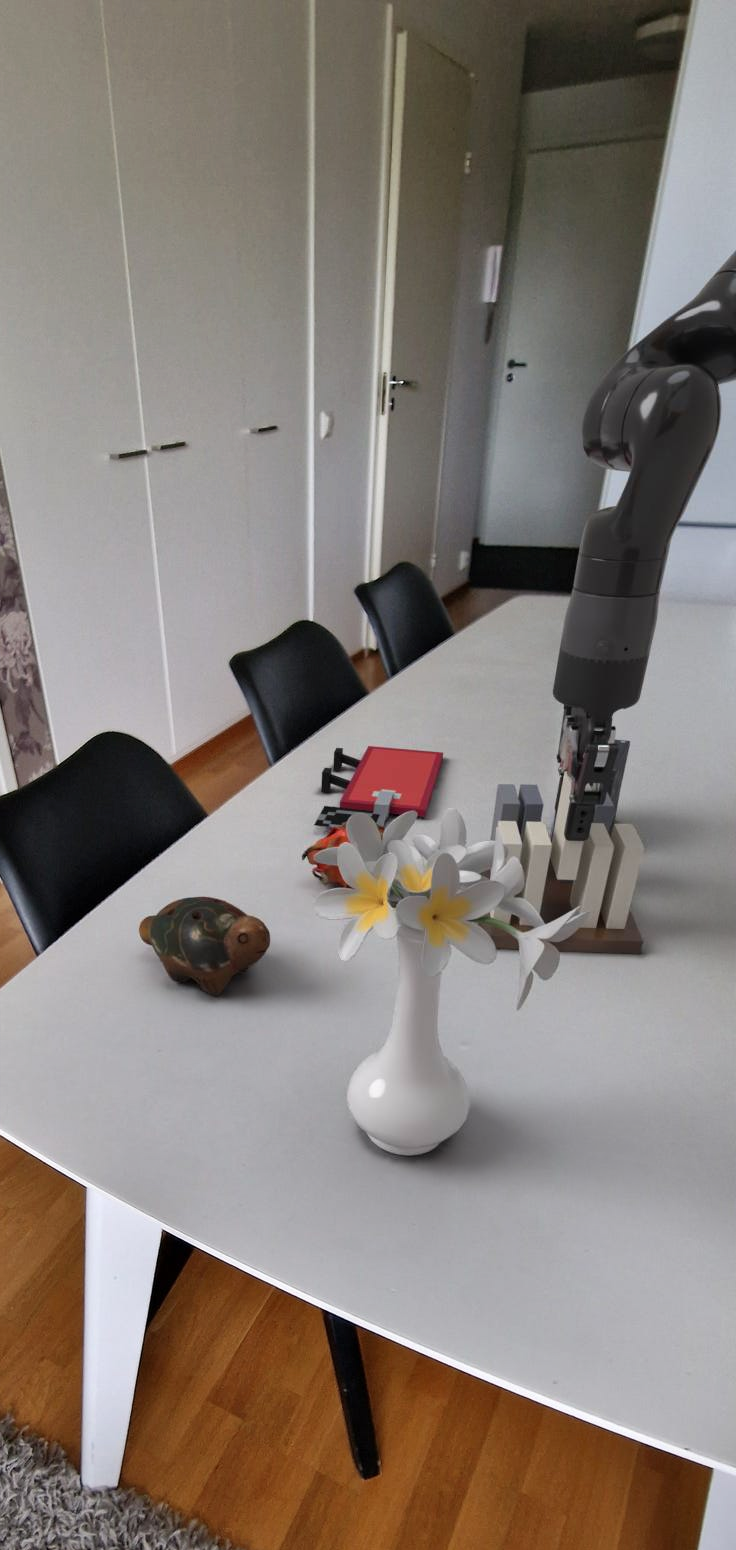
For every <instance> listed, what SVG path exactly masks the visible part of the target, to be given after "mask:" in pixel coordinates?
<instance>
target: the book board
mask: <svg viewBox="0 0 736 1550" xmlns="http://www.w3.org/2000/svg"><path fill="white" fill-rule="evenodd" d="M479 874H480V875H481V876H484V877H486V878H488V879H489V880H490V876H491V872H490V869H489V870H486V871H483V872H481V873H479ZM572 887H573V882H558V879H557V877H556V874H555V871H554V868H553V865H552V861H551V858H550V859H549V865H548V870H547V876H546V882H545V887H544V893H543V898H542V904H541V909H540V917H541V918H542V920H543V921H544V923H545V924H548V923H550V922H552V921H554V920H556V919H558V918H560V917H562V916H563V915H565V914H567V913H568V912H570V911H572V907H571V904H570V897H571V892H572ZM514 896H515V895H514ZM483 917H490V918H491V916H490V912H489V913H487V914H486V915H484V916H483ZM573 917H574V916H573ZM473 923H475V924H477V925H478V926H480V927H481V928H482V929H483V930H485V931H486V932H487V934H488V935H489V936H490V937H491V939H492V940H493V942H494V945H495V947H496V949H501V950H502V949H503V950H504V949H505V950H519V941H518V939H516V938H515V937H513V936H512V935H511V934H509V933H508V932H506V931H504V930H502V929H500V928H498V927H495V926H493V925H489V924H484V923H476V922H473ZM509 925H511V926H512V927H514V928H515V929H517V930H519V931H521V932H528V931H531V930H532V929H535V927H533V926H526V925H520V924H519V920H518V916H515V915H513V914H511V919H510V924H509ZM547 942H549V943H550V944H552V945H553V946H555V947H556V948H557V950H558V952H578V953H605V954H626V955H627V954H628V955H629V954H630V955H641V954H642V950H643V946H644V943H645V942H644V939H643V936H642V935H641V932H640V930H639V926H638V925H637V923H636V920H635V918H634V916H633V913H632V911H631V908H630V909H629V913H628V917H627V921H626V925H625V929H607V928H606V926H605V923H604V920H603V918H602V915H601V912H600V913H599V917H598V922H597V926H596V928H579V929H578V930H577V931H575V932H574V933H573V934H572V935H571V936H569V937H568V938H566V939H565V940H562V941H560V942H550V941H547Z"/></svg>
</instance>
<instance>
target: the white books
mask: <svg viewBox="0 0 736 1550" xmlns="http://www.w3.org/2000/svg"><path fill="white" fill-rule="evenodd" d="M498 830H499V832H500V835H501V838H502V842H503V843H504V844H505V845H506V846H507V848H508V850H509V854H508V857H507V858H506V859H505V860H504V861H506V863H507V862H508V861H509V859H510V858H511V857H514V856H515V857H517V858H518V860H519V861H520V864H521V865H522V868H523V872H524V876H525V884H524V887H523V889H522V890H521V891H520V892H519V893H518V894H516V895H515V896H512V897H510V898H523V899H525V900H526V901H528V902H529V903H530V904H531V905H532V906H533V907H534V908H535V910H536V911H537V912H538V914H539V915H540V909H541V904H542V898H543V893H544V887H545V882H546V876H547V870H548V865H549V859H550V854H551V848H552V844H551V841H550V840H551V837H550V835H549V832H548V829H547V826H546V822H545V821H541V822H526V828H525V834H524V840H523V846H522V841H521V838H520V834H519V830H518V827H517V823H516V821H498ZM611 831H612V832H611V835H610V833H609V834H608V832H607V830H606V828H605V825H604V823H592V824H591V828H590V833H589V837H588V839H587V840H585V841H584V842H583V846H582V851H581V856H580V861H579V866H578V871H577V876H576V880H574V882H573V887H572V892H571V897H570V904H571V907H572V910H573V909H575V908H577V907H578V906H580V909H579V910H578V912H577V913H576V914H575V915H574V916H576V915H579V914H582V913H584V912H587V911H590V914H589V917H588V918H587V920H586V921H585V922H584V923H583V924H582V926H581V927H579V928H596V926H597V922H598V917H599V913H600V912H601V915H602V918H603V920H604V923H605V926H606V928H607V929H625V925H626V921H627V917H628V913H629V909H630V910H631V905H632V900H633V896H634V892H635V888H636V884H637V879H638V876H639V872H640V868H641V864H642V860H643V855H644V851H645V846H644V844H643V842H642V840H641V838H640V836H639V834H638V832H637V830H636V828H635V827H634V824H633V823H613V826H612V830H611ZM521 850H522V853H521ZM520 856H521V859H520ZM491 872H492V869H491ZM490 877H491V876H490ZM490 916H491V918H494V919H497V920H499V921H502V922H505V923H507V924H510V919H511V913H509V912H507V911H504V910H502V909H501V908H499V907H497V906H496V907H495V908H494V909H493V910H492V911H490ZM518 920H519V924H520V925H526V926H532V925H530V924H529V923H527V922H526V921H525V920H523V919H521V918H520V917H518Z"/></svg>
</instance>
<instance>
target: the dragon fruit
mask: <svg viewBox="0 0 736 1550" xmlns="http://www.w3.org/2000/svg"><path fill="white" fill-rule="evenodd" d="M375 823H376V822H375ZM346 825H347V822H344V823H342V826H338V827H330V831H329V832H328V833H327V835H326V836H324V837H323V838H320V839H318V840H317V841H316V842H315V843H314V844H313V845H310V846H309V847H308V848H306V850H304V851H303V853H302V855H301V861H302V862H303V861H304V860H305V859H307V860H308V864H309V865H313V866H315V865H316V867H314V868H312V869H311V873H312V875H313V876H314V877H315V878H316V879H318V880H319V882H321V883H322V884H323V885H324V886H325V885H326V884H332V883H334V884H336V885H337V886H340V887H343V888H349V889H354V888H352V887H350V886H349V885H348V884H347V883H346V882H345V881H344V879H343V878H342V875H341V873H340V870H339V867H338V866H335V865H328V864H322V863H318V862H316V861H315V860H314V855H315V854H317V853H318V852H320V851H322V850H324V849H328V848H332V847H340V845H341V844H342V843H344V842H348V843H350V841H349V839H348V836H347V832H346ZM376 826H377V827H378V830H379V833H380V837H381V840H382V839H383V833H384V831H385V829H386V828H385V827H384V826H383V827H382V826H380V825H379V824H377V823H376ZM350 844H351V843H350ZM397 872H398V871H397ZM317 873H318V874H317ZM319 874H320V875H319ZM398 874H399V873H398Z"/></svg>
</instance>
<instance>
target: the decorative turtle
mask: <svg viewBox="0 0 736 1550" xmlns="http://www.w3.org/2000/svg"><path fill="white" fill-rule="evenodd" d="M138 934H139V936H140V938H141V941H143V942H144V943H145V944H146V945H149V946H152V949H153V952H154V953H155V955H156V956H157V957H158V959H159V960H160V961H161V963H162V965H163V967H164V969H165V971H166V973H167V975H168V977H169V978H170V980H172V981H173V982H176V983H183V982H185V981H187V980H189V979H190V978H191V979H193V980H194V981H196V982H197V983H198V985H199V986H200V987H201V989H202V990H203V991H204V993H205V994H207V995H209V996H212V997H216V996H218V995H220V993H222V991H224V988H225V987H226V985H227V983H228V982H229V981H230V979H231V978H232V977H233V976H234V975H235V974H237V973H238V974H244V973H246V972H247V971H248V970H249V968H250V967H252V966H253V965H255V964H256V963H258V961H259V960H261V959H262V958H263V957H264V955H265V954H266V953H267V951H268V949H269V948H270V946H271V933H270V931H269V929H268V927H267V926H266V924H265V922H264V921H262V920H261V919H260V918H258V917H256V916H254V915H249V914H247V913H246V912H244V911H243V910H242V909H240V908H239V907H237V906H235V905H234V904H232V903H230V902H228V901H226V900H223V899H220V898H216V897H210V896H191V897H184V898H183V897H182V898H180V899H177V900H174V901H172V902H170V903H168V904H167V905H165V906H164V907H163V908H161V910H159V911H158V912H157V913H156V914H154V915H148V916H146V917H144V918H143V919H142V920H141V921H140V924H139V926H138Z"/></svg>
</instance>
